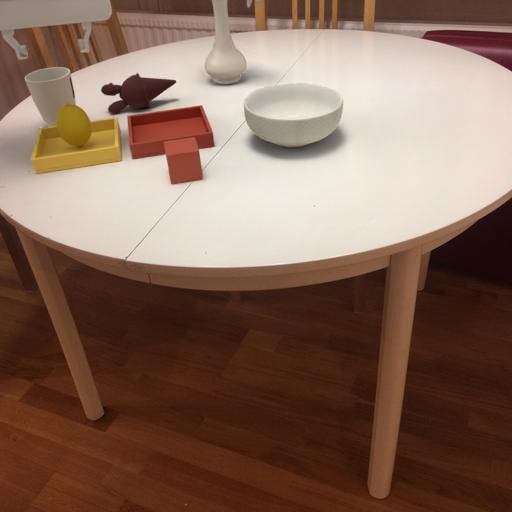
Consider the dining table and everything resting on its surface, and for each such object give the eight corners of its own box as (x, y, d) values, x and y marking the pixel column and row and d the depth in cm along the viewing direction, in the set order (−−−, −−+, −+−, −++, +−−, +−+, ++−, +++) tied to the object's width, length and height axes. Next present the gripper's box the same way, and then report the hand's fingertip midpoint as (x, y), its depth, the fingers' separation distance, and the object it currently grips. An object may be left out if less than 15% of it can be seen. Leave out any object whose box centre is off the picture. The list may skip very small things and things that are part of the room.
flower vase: (258, 93, 110) (250, -42, 95) (180, 86, 116) (161, -42, 101) (278, 72, 120) (274, -53, 104) (206, 67, 126) (192, -53, 110)
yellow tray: (35, 174, 87) (30, 159, 85) (43, 141, 97) (38, 128, 96) (121, 160, 89) (118, 146, 87) (120, 130, 99) (117, 116, 98)
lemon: (70, 141, 95) (57, 98, 90) (99, 140, 95) (88, 96, 90) (60, 155, 91) (46, 110, 86) (91, 154, 90) (79, 109, 86)
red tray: (132, 159, 89) (129, 145, 88) (130, 128, 100) (127, 115, 98) (214, 146, 91) (213, 132, 90) (203, 117, 102) (202, 104, 100)
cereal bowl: (328, 165, 83) (329, 123, 79) (231, 154, 88) (227, 114, 84) (350, 122, 96) (353, 84, 91) (265, 115, 101) (263, 78, 97)
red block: (171, 184, 81) (166, 155, 78) (168, 169, 85) (163, 141, 82) (203, 179, 82) (199, 150, 79) (198, 164, 86) (194, 136, 83)
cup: (89, 126, 102) (75, 74, 96) (48, 138, 98) (31, 85, 92) (75, 113, 107) (61, 64, 101) (36, 124, 104) (19, 74, 98)
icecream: (167, 63, 109) (97, 82, 106) (174, 63, 103) (99, 84, 100) (177, 96, 112) (109, 116, 109) (184, 99, 106) (112, 120, 103)
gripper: (102, -54, 78) (121, 42, 87) (-43, -42, 75) (-9, 56, 84) (102, -48, 74) (121, 53, 82) (-53, -36, 70) (-16, 68, 79)
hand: (54, 55), depth 83 cm, fingers open, 8 cm apart
